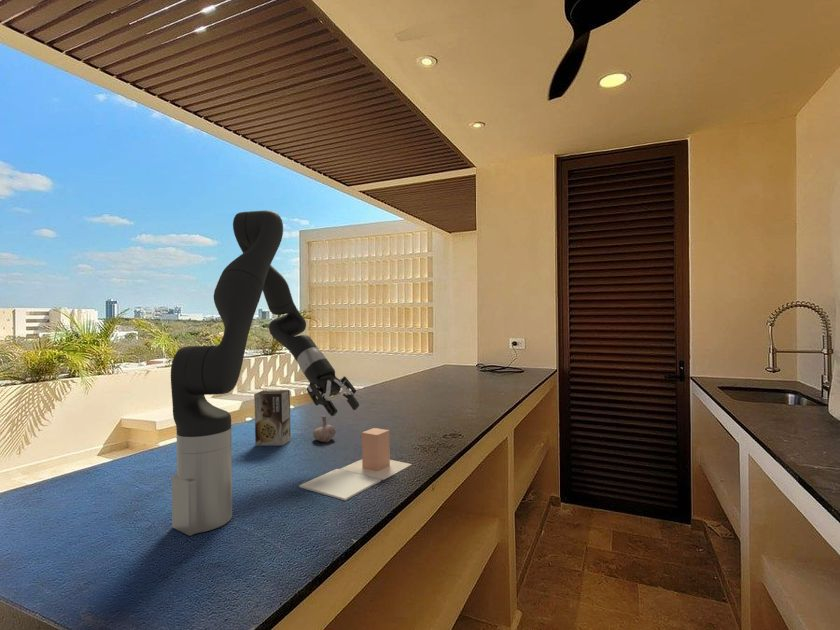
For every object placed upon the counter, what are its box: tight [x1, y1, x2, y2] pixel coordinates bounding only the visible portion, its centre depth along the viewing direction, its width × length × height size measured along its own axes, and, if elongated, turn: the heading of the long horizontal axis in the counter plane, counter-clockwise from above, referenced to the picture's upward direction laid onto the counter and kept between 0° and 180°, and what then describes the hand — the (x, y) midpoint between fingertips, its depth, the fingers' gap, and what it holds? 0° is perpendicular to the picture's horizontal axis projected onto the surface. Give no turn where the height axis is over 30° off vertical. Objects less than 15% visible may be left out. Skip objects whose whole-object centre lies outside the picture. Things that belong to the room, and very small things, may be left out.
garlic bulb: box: [312, 415, 336, 443], centre depth 131 cm, size 8×7×8 cm
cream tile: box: [340, 458, 413, 481], centre depth 105 cm, size 12×14×1 cm
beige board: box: [298, 468, 382, 501], centre depth 94 cm, size 12×14×1 cm
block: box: [361, 427, 391, 471], centre depth 105 cm, size 5×5×9 cm
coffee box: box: [253, 389, 292, 447], centre depth 129 cm, size 9×6×16 cm
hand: (346, 411), depth 111 cm, fingers open, 8 cm apart
